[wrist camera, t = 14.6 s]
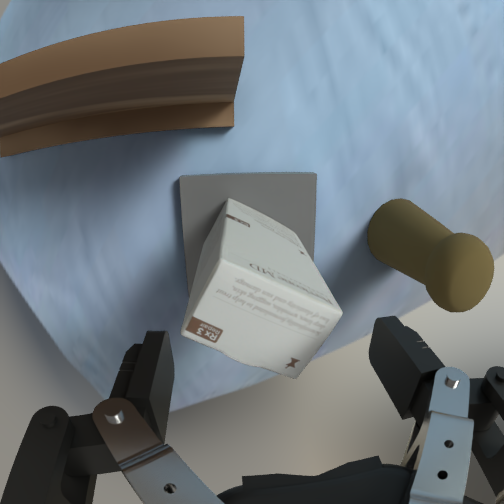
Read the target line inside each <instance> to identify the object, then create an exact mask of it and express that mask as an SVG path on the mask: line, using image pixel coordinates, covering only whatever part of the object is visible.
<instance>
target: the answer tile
mask: <svg viewBox="0 0 504 504" xmlns="http://www.w3.org/2000/svg"><path fill="white" fill-rule="evenodd" d="M179 179H180V197H181V212H182V226H183V239H184V251H185V262H186V273H187V283H188V293H189V298H190V294H191V290H192V286H193V282H194V278H195V274H196V270H197V267H198V263H199V259H200V256H201V252H202V248H203V244H204V242H205V240H206V238H207V237H208V235H209V233H210V231H211V229H212V227H213V225H214V224H215V222H216V220H217V218H218V216H219V214H220V212H221V210H222V208H223V207H224V205H225V203H226V201H227V199H228V198H230V199H233V200H235V201H238V202H240V203H242V204H244V205H246V206H248V207H250V208H252V209H254V210H256V211H258V212H260V213H262V214H264V215H266V216H268V217H270V218H272V219H273V220H275V221H277V222H279V223H280V224H282V225H284V226H285V227H287V228H289V229H290V230H292V231H293V232H294V233H296V235H297V236H298V238H299V239H300V241H301V243H302V244H303V246H304V248H305V249H306V251H307V253H308V254H309V256H310V258H311V259H312V261H313V260H314V240H315V216H316V183H317V174H316V173H314V172H258V173H222V174H200V175H182V176H180V177H179Z"/></svg>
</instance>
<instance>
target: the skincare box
mask: <svg viewBox="0 0 504 504" xmlns="http://www.w3.org/2000/svg"><path fill="white" fill-rule="evenodd" d="M342 314H343V312H342V310H341V308H340V307H339V305H338V304H337V302H336V300H335V299H334V297H333V295H332V293H331V292H330V290H329V288H328V286H327V285H326V283H325V281H324V279H323V278H322V276H321V274H320V273H319V271H318V269H317V268H316V266H315V264H314V263H313V261H312V259H311V258H310V256H309V254H308V253H307V251H306V249H305V248H304V246H303V244H302V243H301V241H300V239H299V238H298V236H297V235H296V233H294V232H293V231H292V230H290V229H289V228H287V227H285V226H284V225H282V224H280V223H279V222H277V221H275V220H273V219H272V218H270V217H268V216H266V215H264V214H262V213H260V212H258V211H256V210H254V209H252V208H250V207H248V206H246V205H244V204H242V203H240V202H238V201H235V200H233V199H230V198H228V199H227V201H226V203H225V205H224V207H223V208H222V210H221V212H220V214H219V216H218V218H217V220H216V222H215V224H214V225H213V227H212V229H211V231H210V233H209V235H208V237H207V238H206V240H205V242H204V244H203V248H202V252H201V256H200V259H199V263H198V267H197V270H196V274H195V278H194V282H193V286H192V290H191V294H190V298H189V302H188V305H187V309H186V313H185V317H184V321H183V324H182V328H181V335H182V336H184V337H186V338H189V339H191V340H194V341H196V342H198V343H201V344H203V345H206V346H208V347H211V348H213V349H216V350H218V351H220V352H222V353H223V354H225V355H226V356H228V357H230V358H232V359H234V360H236V361H238V362H241V363H243V364H246V365H250V366H255V367H262V368H265V369H267V370H270V371H273V372H276V373H279V374H282V375H285V376H287V377H291V378H293V379H296V378H297V377H298V376H299V375H300V373H301V372H302V371H303V369H304V368H305V367H306V366H307V365H308V363H309V362H310V360H311V359H312V358H313V356H314V355H315V354H316V352H317V351H318V350H319V348H320V347H321V346H322V344H323V343H324V341H325V340H326V339H327V337H328V336H329V335H330V333H331V332H332V330H333V329H334V327H335V325H336V324H337V322H338V321H339V319H340V317H341V316H342Z"/></svg>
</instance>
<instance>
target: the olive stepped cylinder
mask: <svg viewBox="0 0 504 504" xmlns="http://www.w3.org/2000/svg"><path fill="white" fill-rule="evenodd" d="M367 237H368V245H369V248H370V251H371V253H372V254H373V255H374V256H375V258H376V259H377V260H379V261H381V262H383V263H385V264H387V265H388V266H390V267H392V268H394V269H396V270H398V271H400V272H402V273H404V274H405V275H407V276H409V277H411V278H413V279H415V280H417V281H419V282H420V283H422V284H424V285H426V290H427V292H428V293H429V295H430V297H431V298H432V300H433V301H434V302H435V303H436V304H437V305H438V306H439V307H441V308H443V309H445V310H447V311H449V312H464V311H467V310H470V309H472V308H473V307H474V306H476V305H477V304H478V303H479V302H480V301H481V300H482V299H483V297H484V296H485V294H486V293H487V291H488V289H489V288H490V285H491V282H492V279H493V273H494V261H493V258H492V255H491V253H490V250H489V248H488V247H487V246H486V245H485V243H483V242H482V241H481V240H480V239H479V238H478V237H476V236H473V235H470V234H466V233H455V234H454V233H453V232H451V231H450V230H449V229H447V228H446V227H445V226H444V225H442V224H441V223H440V222H438V221H437V220H436V219H434V218H433V217H432V216H430V215H429V214H427V213H426V212H425V211H423V210H422V209H421V208H419V207H418V206H416V205H415V204H414V203H412V202H411V201H409V200H405V199H394V200H390V201H388V202H387V203H385V204H383V205H382V206H381V207H380V208H379V209H378V210H377V211H376V212H375V213H374V215H373V217H372V219H371V221H370V223H369V228H368V232H367Z"/></svg>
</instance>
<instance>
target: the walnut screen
mask: <svg viewBox="0 0 504 504" xmlns="http://www.w3.org/2000/svg"><path fill="white" fill-rule="evenodd" d="M243 60H244V16H227V17H202V18H188V19H177V20H168V21H159V22H152V23H145V24H138V25H132V26H127V27H121V28H116V29H111V30H106V31H102V32H97V33H93V34H89V35H85V36H81V37H77V38H73V39H70V40H66V41H63V42H59V43H56V44H53V45H50V46H47V47H44V48H41V49H38V50H35V51H32V52H29V53H26V54H24V55H21V56H18V57H16V58H13V59H11V60H8V61H6V62H3V63H1V64H0V156H1V157H6V156H11V155H15V154H19V153H24V152H28V151H33V150H37V149H42V148H47V147H52V146H57V145H62V144H67V143H73V142H79V141H85V140H91V139H98V138H105V137H112V136H119V135H127V134H136V133H145V132H155V131H166V130H179V129H194V128H214V127H234V99H235V94H236V90H237V85H238V81H239V77H240V72H241V68H242V64H243Z"/></svg>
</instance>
